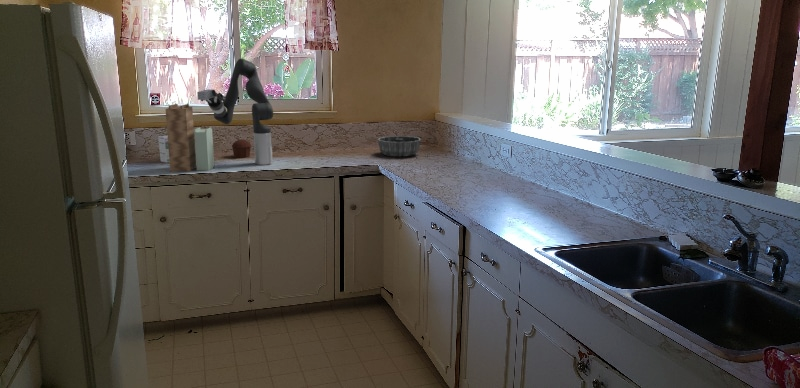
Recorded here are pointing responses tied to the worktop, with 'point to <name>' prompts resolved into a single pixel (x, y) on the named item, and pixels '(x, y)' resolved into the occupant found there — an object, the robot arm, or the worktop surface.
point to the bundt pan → (399, 145)
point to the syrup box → (164, 148)
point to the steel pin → (205, 94)
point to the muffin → (241, 148)
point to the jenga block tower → (181, 137)
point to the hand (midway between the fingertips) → (208, 91)
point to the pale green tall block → (204, 149)
